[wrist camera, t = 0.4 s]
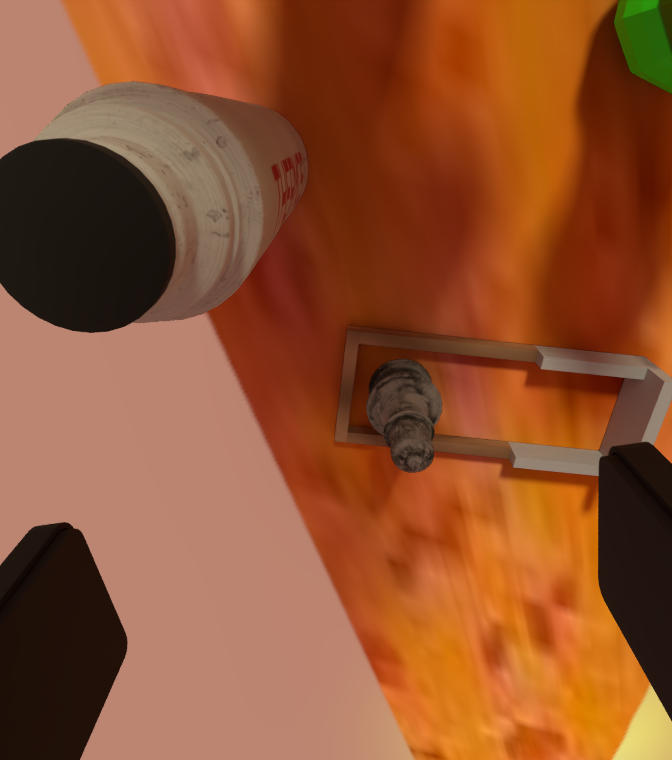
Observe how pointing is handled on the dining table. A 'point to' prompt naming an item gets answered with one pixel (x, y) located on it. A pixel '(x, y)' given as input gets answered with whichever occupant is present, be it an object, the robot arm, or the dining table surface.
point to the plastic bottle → (647, 39)
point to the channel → (425, 344)
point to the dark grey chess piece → (405, 412)
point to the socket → (629, 418)
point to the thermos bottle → (144, 205)
